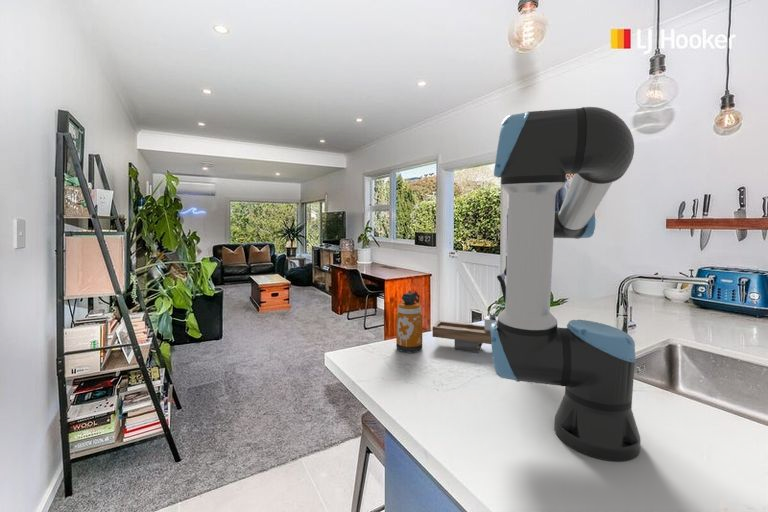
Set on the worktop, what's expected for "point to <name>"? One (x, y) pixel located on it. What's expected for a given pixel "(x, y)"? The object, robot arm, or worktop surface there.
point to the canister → (409, 324)
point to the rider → (490, 321)
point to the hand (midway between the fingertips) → (516, 326)
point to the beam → (463, 335)
